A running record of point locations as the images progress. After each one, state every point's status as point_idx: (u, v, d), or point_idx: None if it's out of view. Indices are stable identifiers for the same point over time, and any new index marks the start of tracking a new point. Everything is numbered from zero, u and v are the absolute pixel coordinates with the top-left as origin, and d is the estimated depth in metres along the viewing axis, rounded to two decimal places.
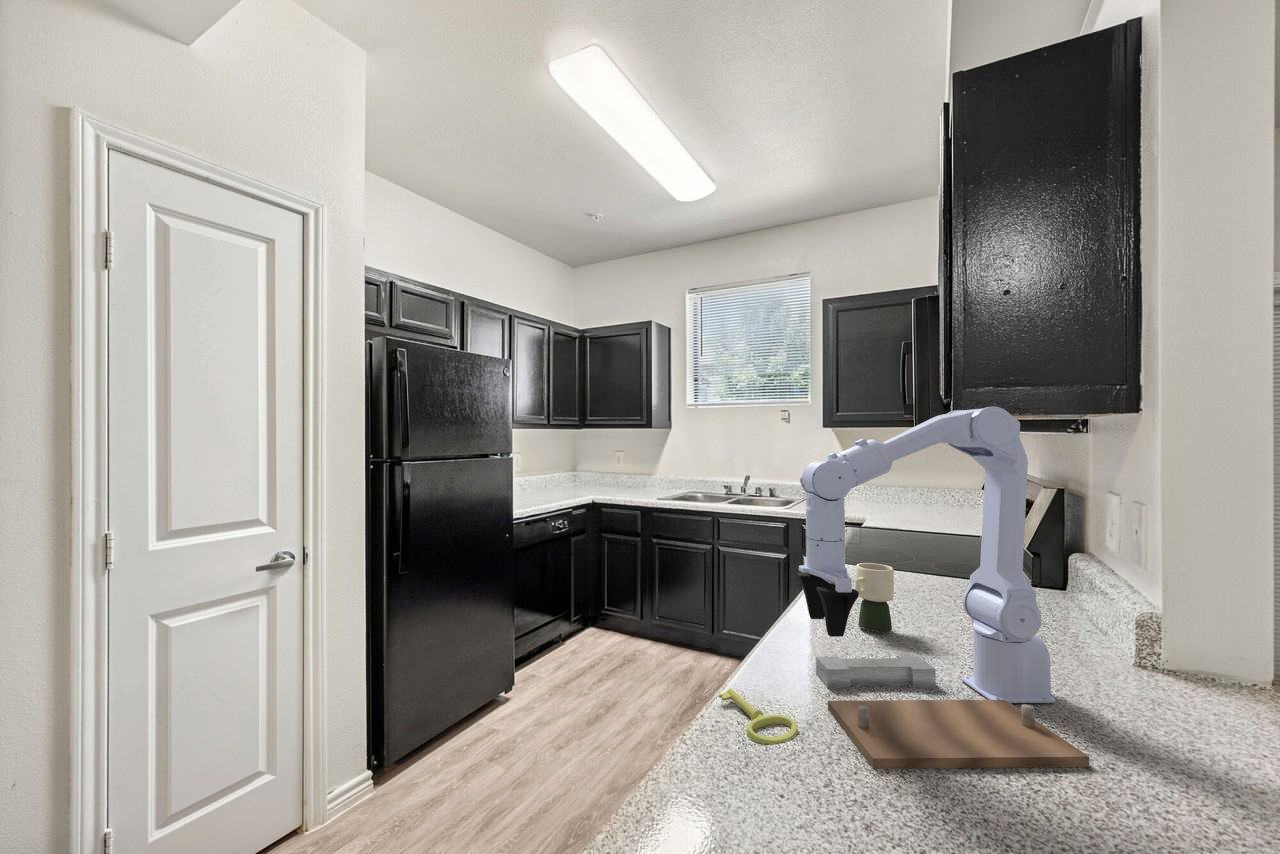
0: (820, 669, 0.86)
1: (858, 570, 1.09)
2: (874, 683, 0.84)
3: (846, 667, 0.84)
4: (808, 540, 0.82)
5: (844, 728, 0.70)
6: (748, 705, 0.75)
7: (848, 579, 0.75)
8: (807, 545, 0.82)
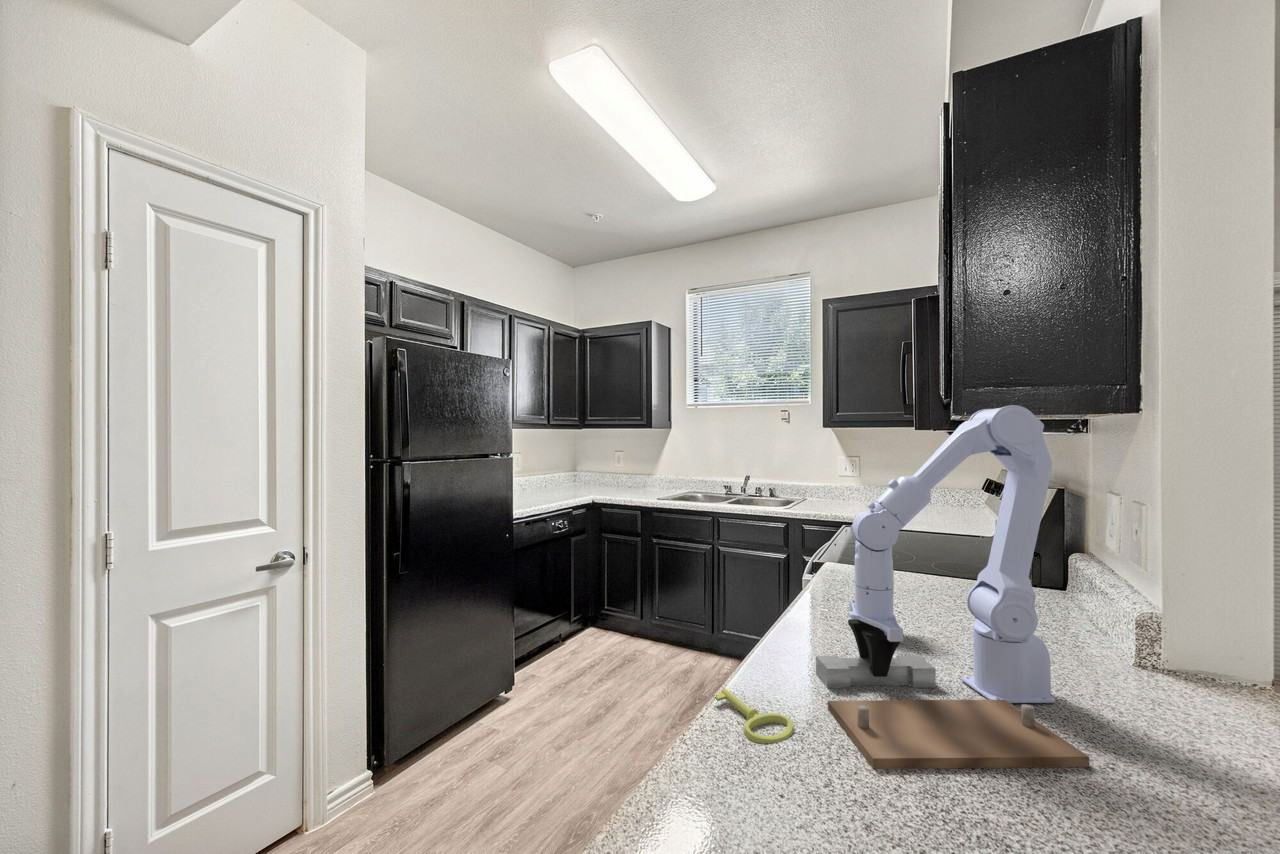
0: (820, 669, 0.86)
1: None
2: (874, 682, 0.84)
3: (846, 666, 0.84)
4: (857, 588, 0.86)
5: (844, 728, 0.70)
6: (743, 704, 0.75)
7: (900, 629, 0.79)
8: (856, 592, 0.86)
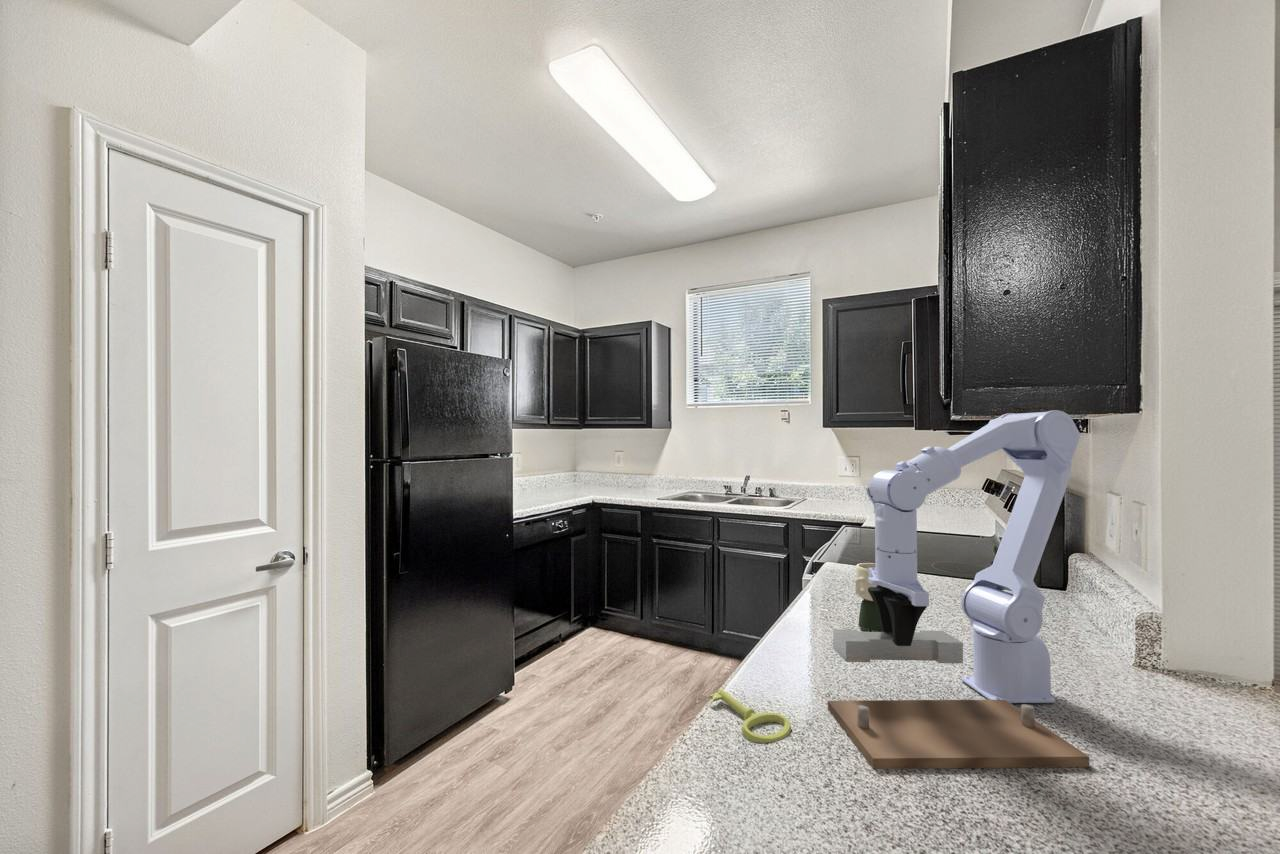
0: (838, 642, 0.80)
1: (858, 570, 1.09)
2: (896, 657, 0.78)
3: (866, 639, 0.78)
4: (878, 551, 0.80)
5: (844, 728, 0.70)
6: (740, 704, 0.75)
7: (925, 593, 0.73)
8: (877, 556, 0.80)
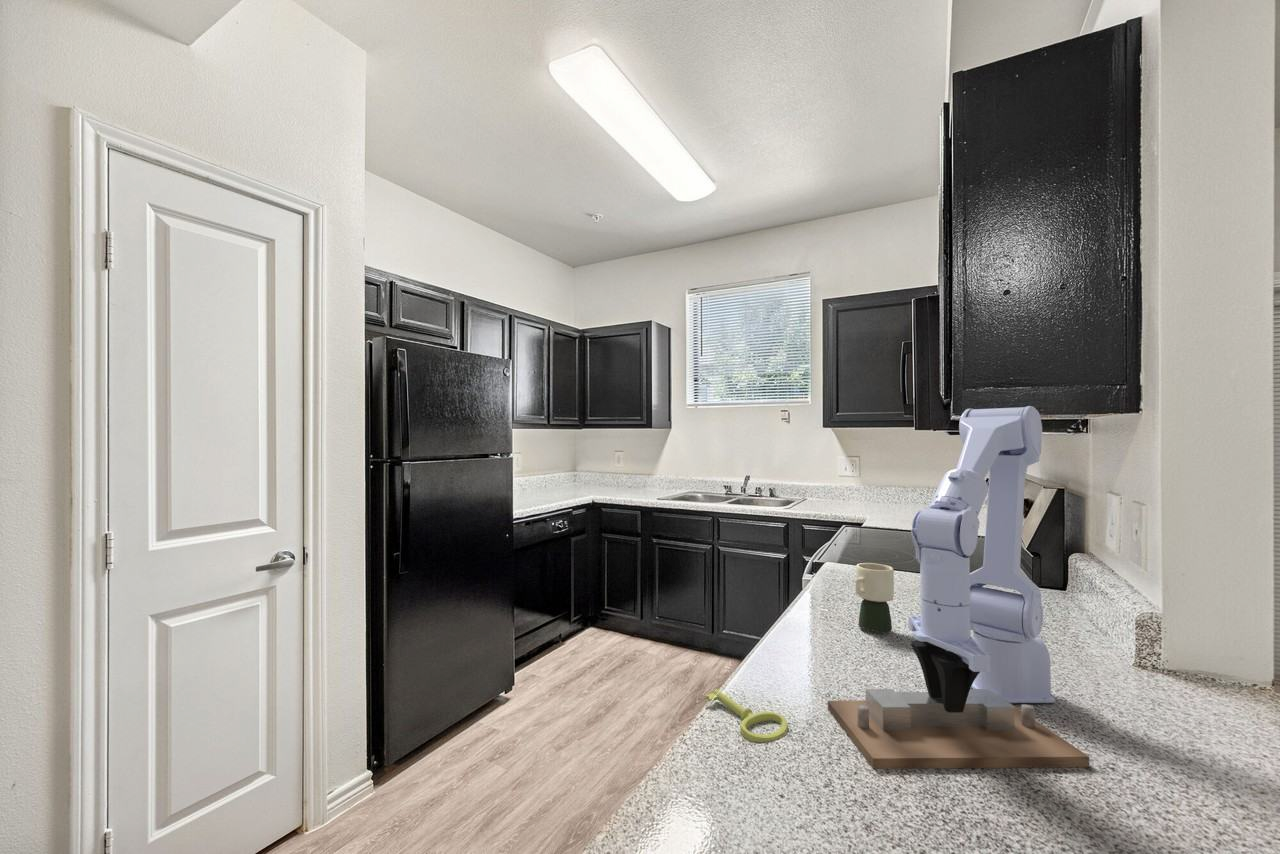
0: (873, 706, 0.71)
1: (858, 570, 1.09)
2: (939, 723, 0.70)
3: (905, 704, 0.69)
4: (925, 603, 0.70)
5: (844, 728, 0.70)
6: (736, 704, 0.75)
7: (986, 656, 0.63)
8: (924, 608, 0.70)
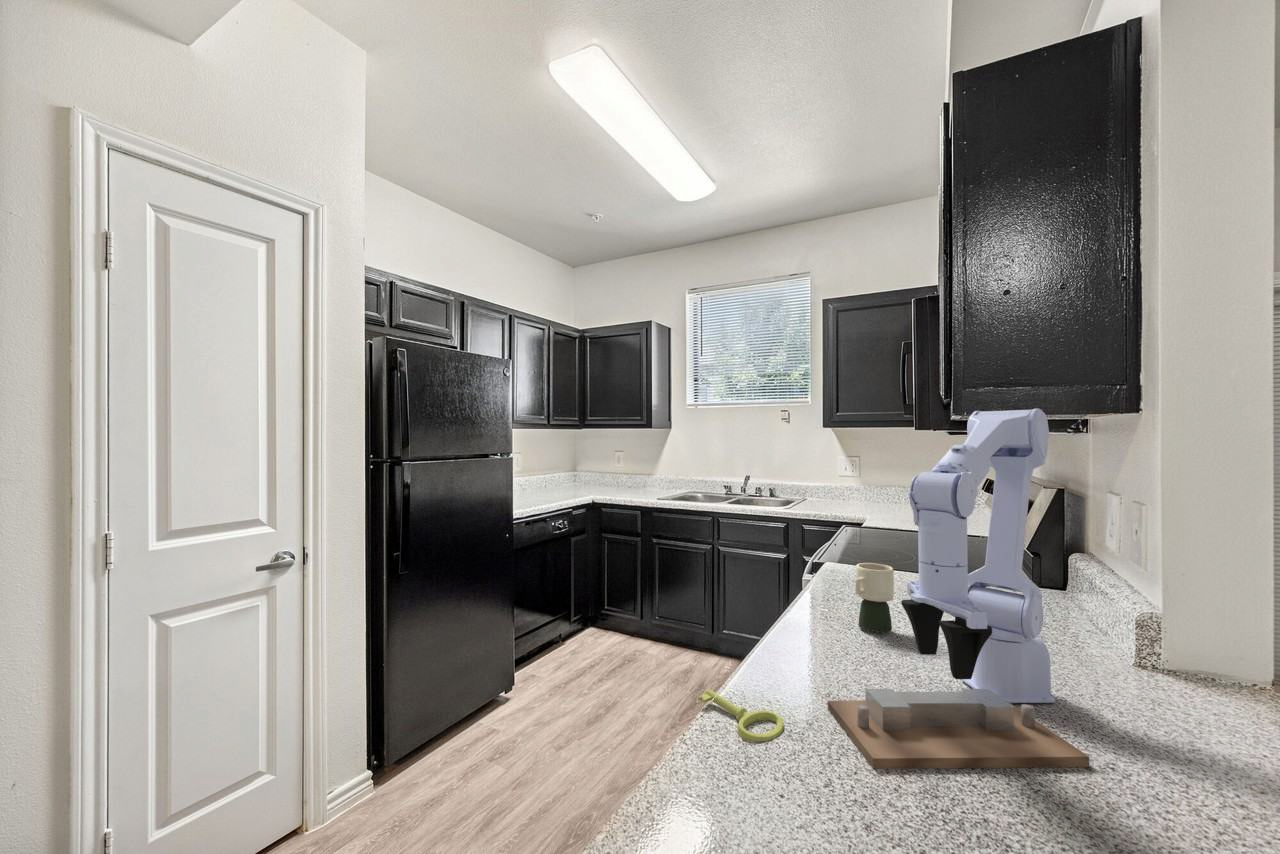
0: (872, 706, 0.71)
1: (858, 570, 1.09)
2: (939, 723, 0.70)
3: (905, 704, 0.69)
4: (923, 564, 0.70)
5: (844, 728, 0.70)
6: (731, 704, 0.75)
7: (983, 613, 0.64)
8: (922, 570, 0.71)
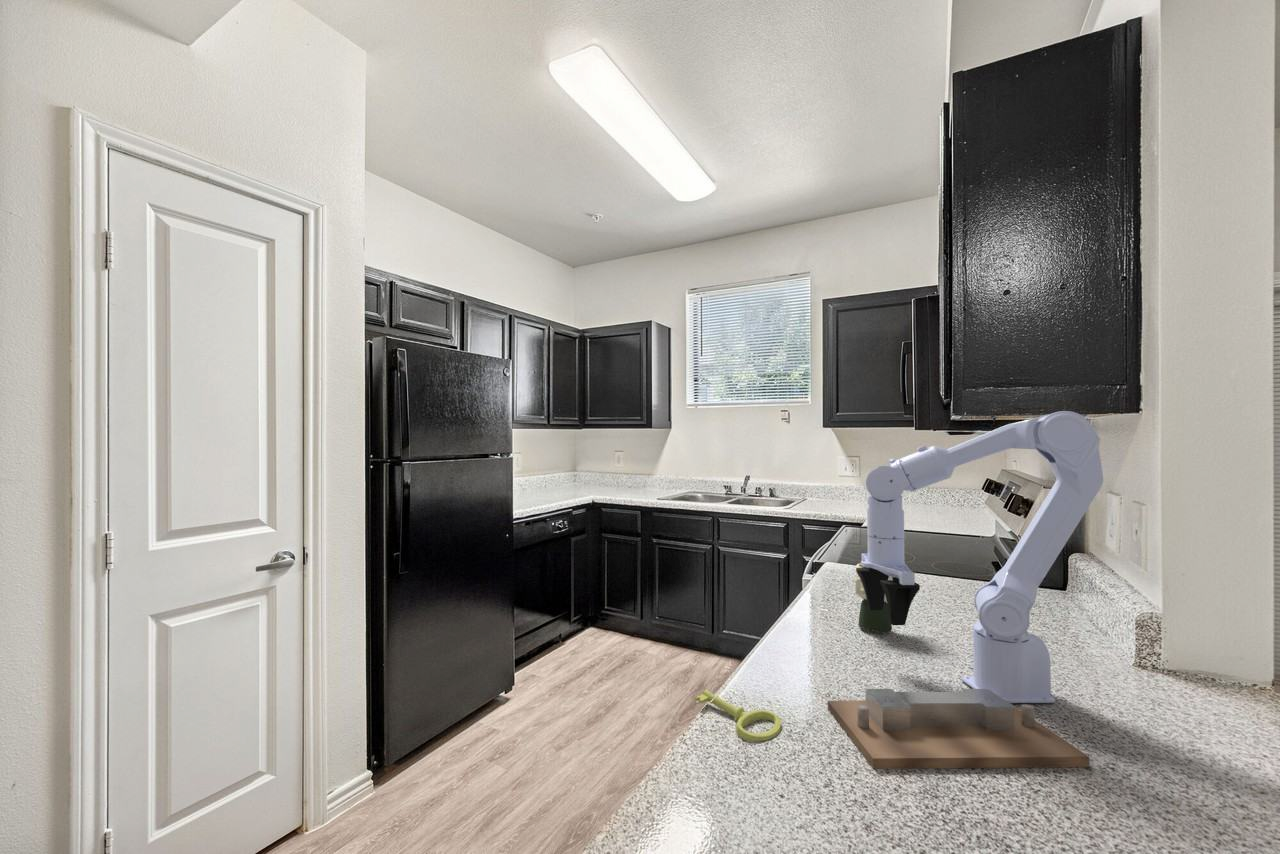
0: (872, 706, 0.71)
1: None
2: (939, 723, 0.70)
3: (905, 704, 0.69)
4: (870, 538, 0.90)
5: (844, 728, 0.70)
6: (728, 704, 0.75)
7: (911, 573, 0.83)
8: (869, 542, 0.90)
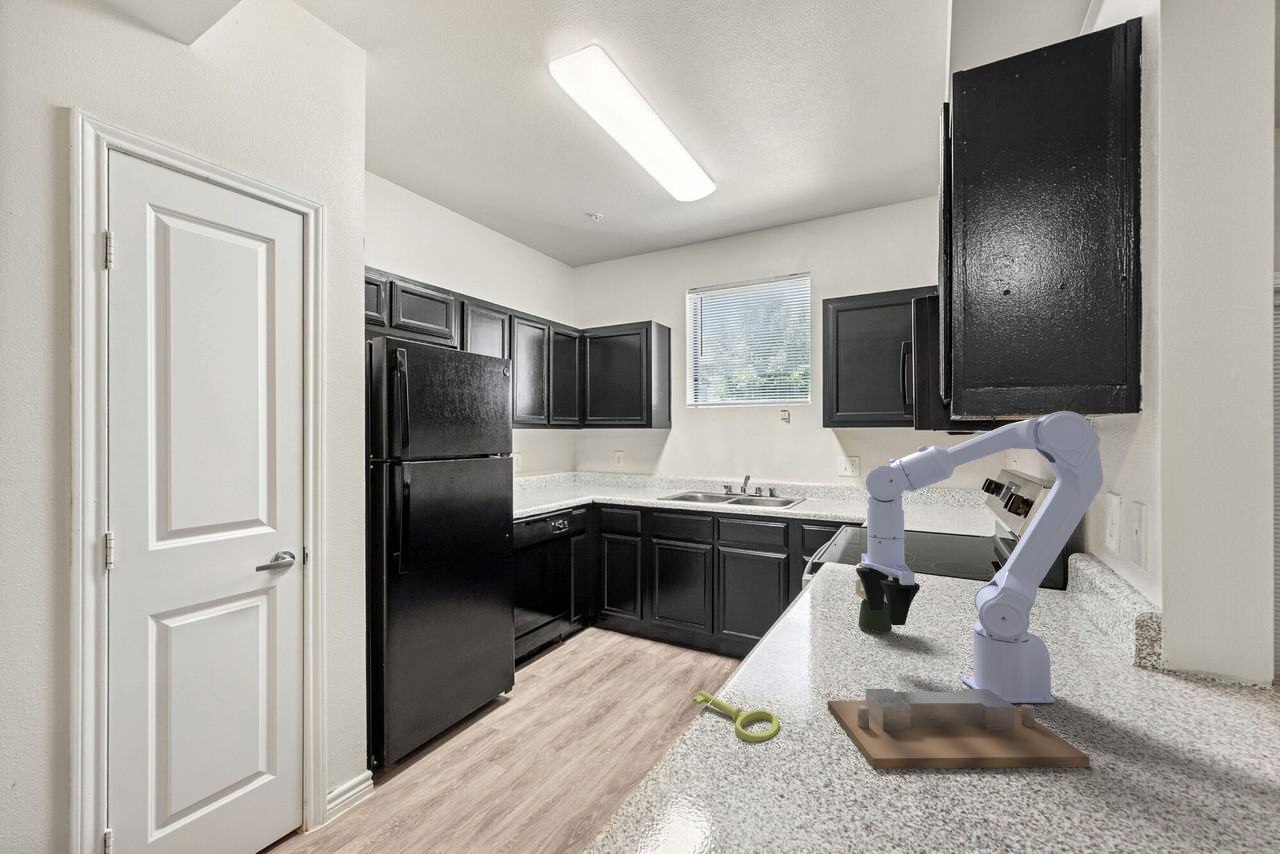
0: (872, 706, 0.71)
1: None
2: (939, 723, 0.70)
3: (905, 704, 0.69)
4: (870, 538, 0.90)
5: (844, 728, 0.70)
6: (726, 704, 0.75)
7: (911, 573, 0.83)
8: (869, 542, 0.90)
